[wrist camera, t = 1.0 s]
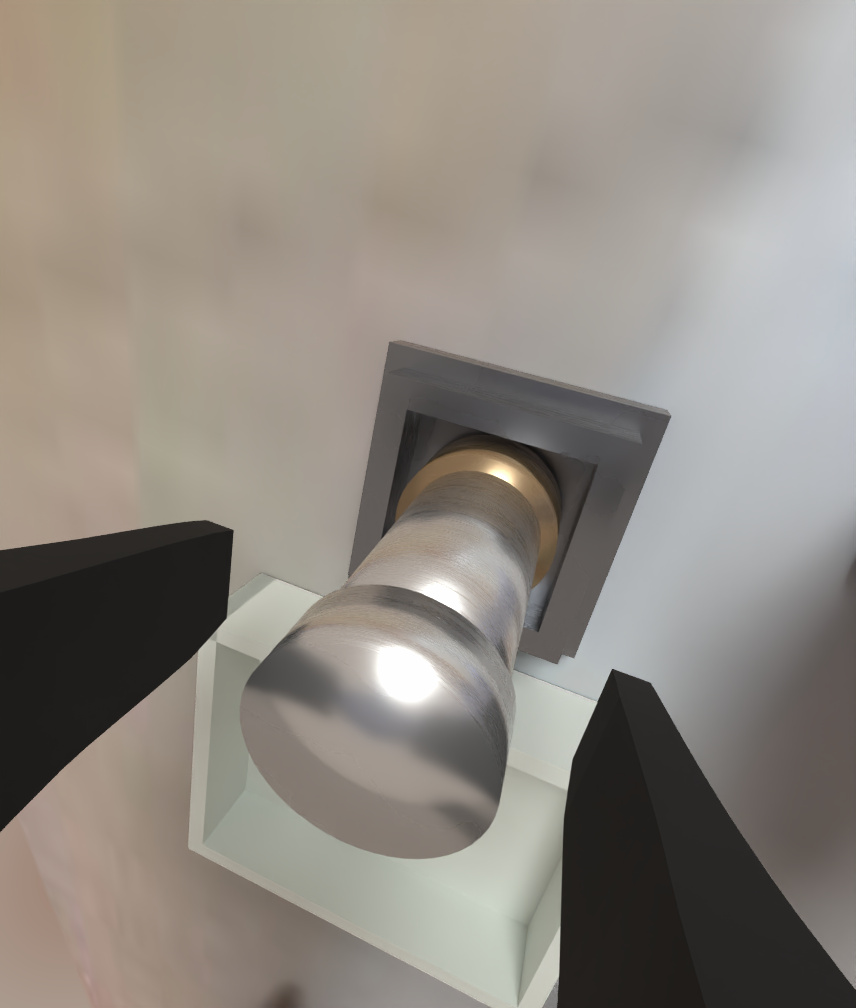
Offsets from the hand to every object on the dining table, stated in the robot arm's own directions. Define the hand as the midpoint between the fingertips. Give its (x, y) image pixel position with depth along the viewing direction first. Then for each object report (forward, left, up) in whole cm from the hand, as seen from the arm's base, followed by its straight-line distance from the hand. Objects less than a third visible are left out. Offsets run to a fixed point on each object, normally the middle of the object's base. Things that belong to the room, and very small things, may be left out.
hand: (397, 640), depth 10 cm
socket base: (0, 0, -8) cm, 8 cm away
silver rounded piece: (0, 0, -7) cm, 7 cm away
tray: (0, +12, -8) cm, 15 cm away
